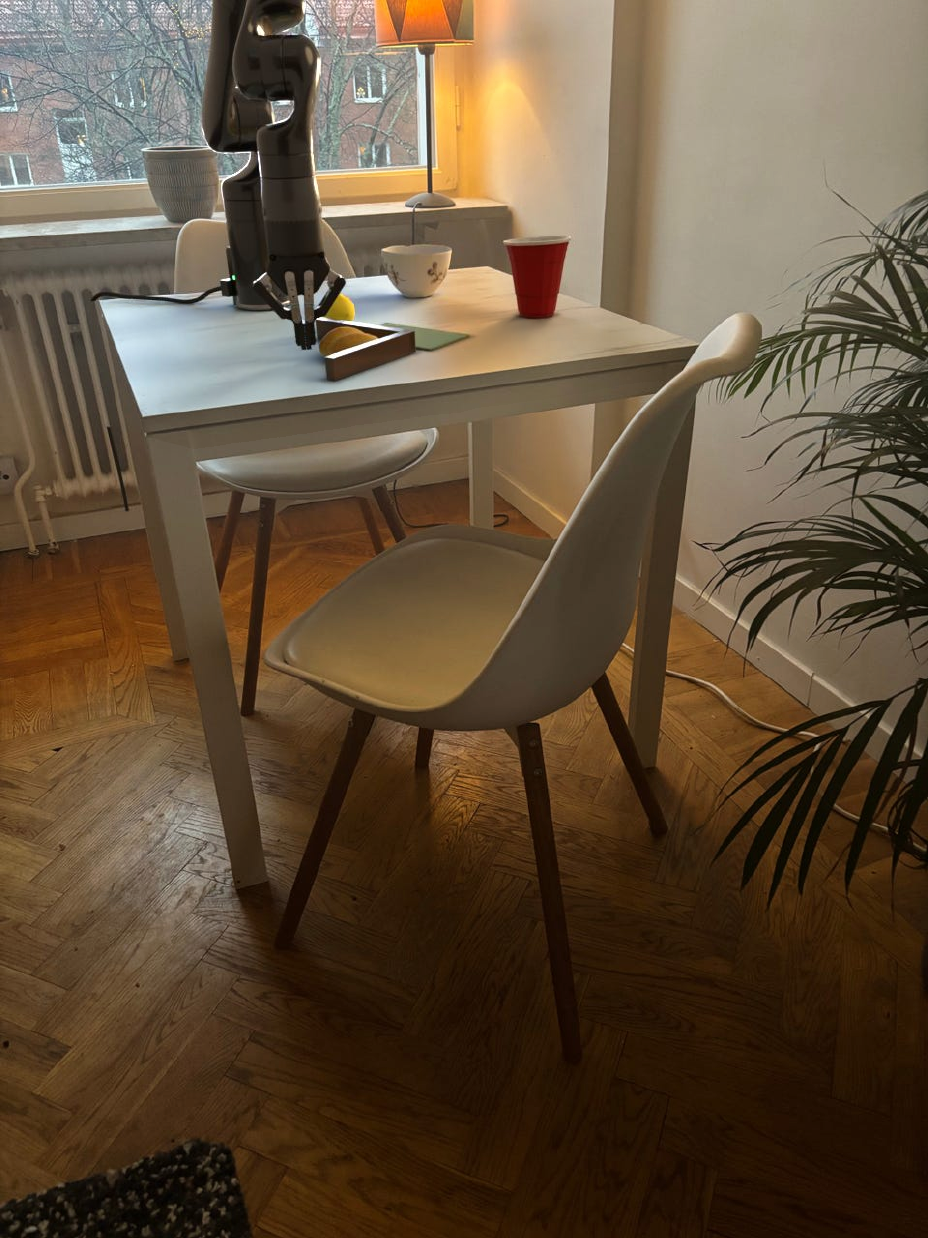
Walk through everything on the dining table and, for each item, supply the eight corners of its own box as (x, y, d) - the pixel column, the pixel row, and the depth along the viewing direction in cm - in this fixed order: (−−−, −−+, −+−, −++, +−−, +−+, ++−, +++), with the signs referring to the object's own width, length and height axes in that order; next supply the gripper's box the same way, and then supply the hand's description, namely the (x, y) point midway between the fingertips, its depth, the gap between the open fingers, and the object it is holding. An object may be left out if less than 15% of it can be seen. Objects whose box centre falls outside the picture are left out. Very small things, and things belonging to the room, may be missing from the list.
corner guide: (239, 363, 130) (236, 341, 128) (323, 337, 142) (322, 317, 141) (334, 381, 121) (332, 358, 120) (415, 351, 134) (414, 330, 132)
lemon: (364, 329, 146) (362, 293, 144) (335, 335, 143) (332, 298, 141) (339, 322, 151) (336, 287, 148) (311, 327, 148) (307, 292, 145)
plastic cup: (542, 304, 160) (544, 229, 154) (582, 315, 152) (585, 236, 146) (489, 313, 155) (489, 235, 149) (528, 324, 147) (529, 243, 141)
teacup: (467, 294, 169) (466, 247, 165) (413, 304, 162) (410, 255, 158) (414, 283, 179) (412, 238, 175) (361, 293, 172) (358, 246, 168)
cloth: (345, 337, 142) (345, 335, 142) (386, 324, 149) (386, 322, 149) (430, 350, 134) (430, 348, 134) (469, 336, 141) (469, 334, 141)
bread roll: (345, 369, 126) (342, 339, 124) (311, 356, 133) (308, 327, 131) (395, 358, 131) (393, 329, 129) (360, 346, 137) (358, 318, 135)
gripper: (340, 209, 126) (351, 339, 135) (241, 213, 124) (258, 345, 133) (345, 215, 120) (356, 352, 128) (240, 220, 118) (258, 358, 126)
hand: (306, 348), depth 131 cm, fingers closed
